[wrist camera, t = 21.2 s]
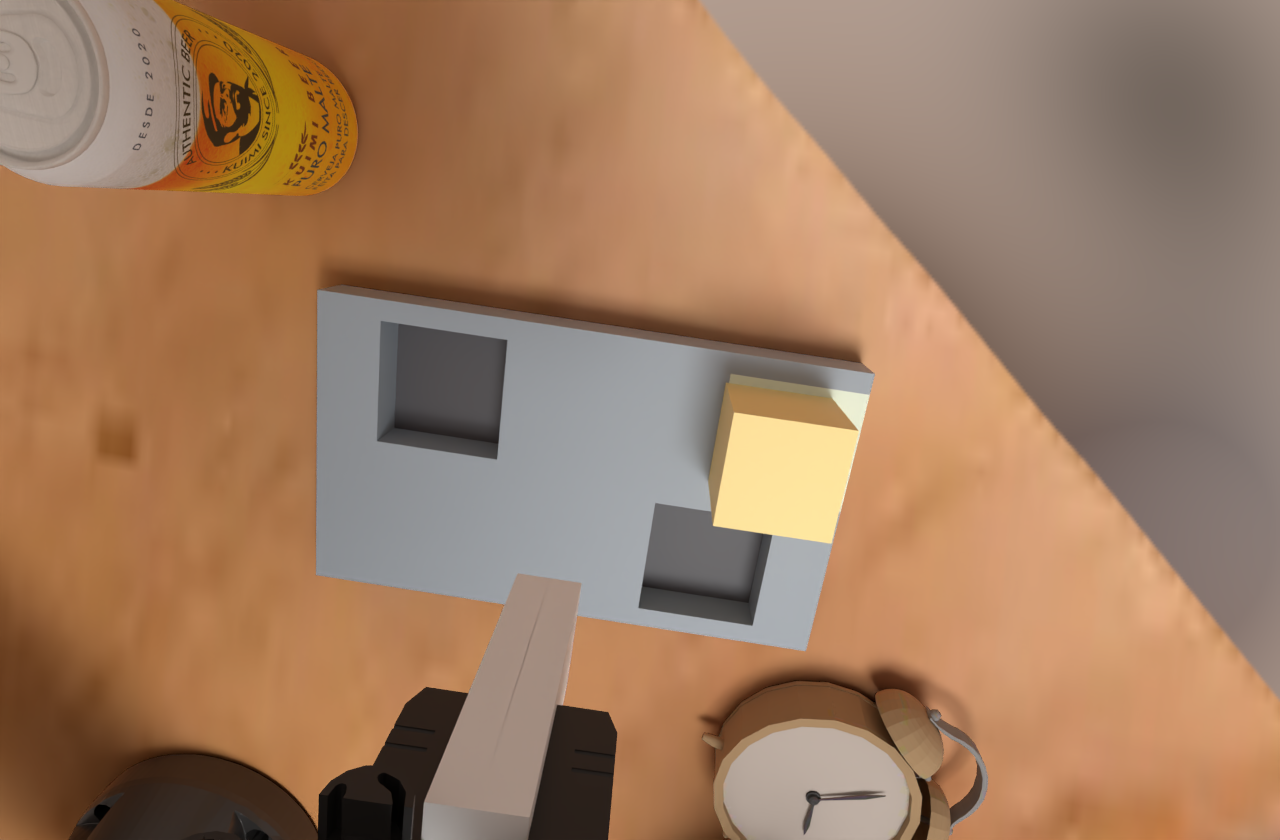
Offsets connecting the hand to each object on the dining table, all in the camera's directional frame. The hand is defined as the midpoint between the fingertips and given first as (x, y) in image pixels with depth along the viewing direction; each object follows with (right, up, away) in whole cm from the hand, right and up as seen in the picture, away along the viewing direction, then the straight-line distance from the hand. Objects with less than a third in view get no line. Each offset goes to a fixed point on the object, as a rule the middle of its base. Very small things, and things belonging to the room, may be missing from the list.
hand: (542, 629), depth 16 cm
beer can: (-13, +19, +16) cm, 28 cm away
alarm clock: (+14, -15, +25) cm, 32 cm away
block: (+8, +4, +17) cm, 19 cm away
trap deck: (-1, +3, +20) cm, 20 cm away
